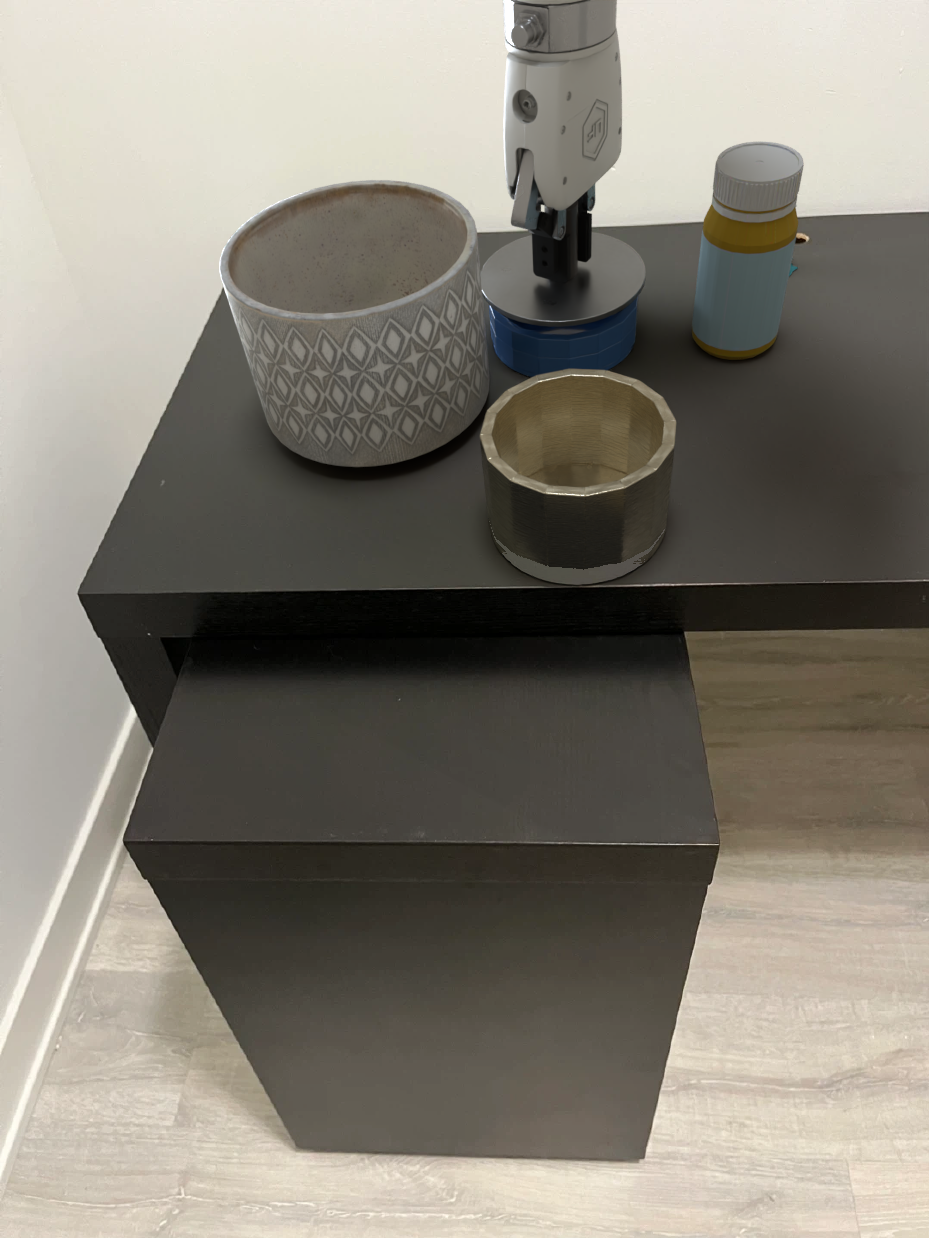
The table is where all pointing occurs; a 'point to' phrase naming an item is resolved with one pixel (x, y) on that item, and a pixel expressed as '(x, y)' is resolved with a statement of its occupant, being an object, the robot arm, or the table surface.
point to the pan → (564, 343)
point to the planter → (361, 319)
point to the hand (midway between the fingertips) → (562, 265)
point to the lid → (579, 301)
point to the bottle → (746, 249)
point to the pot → (578, 468)
